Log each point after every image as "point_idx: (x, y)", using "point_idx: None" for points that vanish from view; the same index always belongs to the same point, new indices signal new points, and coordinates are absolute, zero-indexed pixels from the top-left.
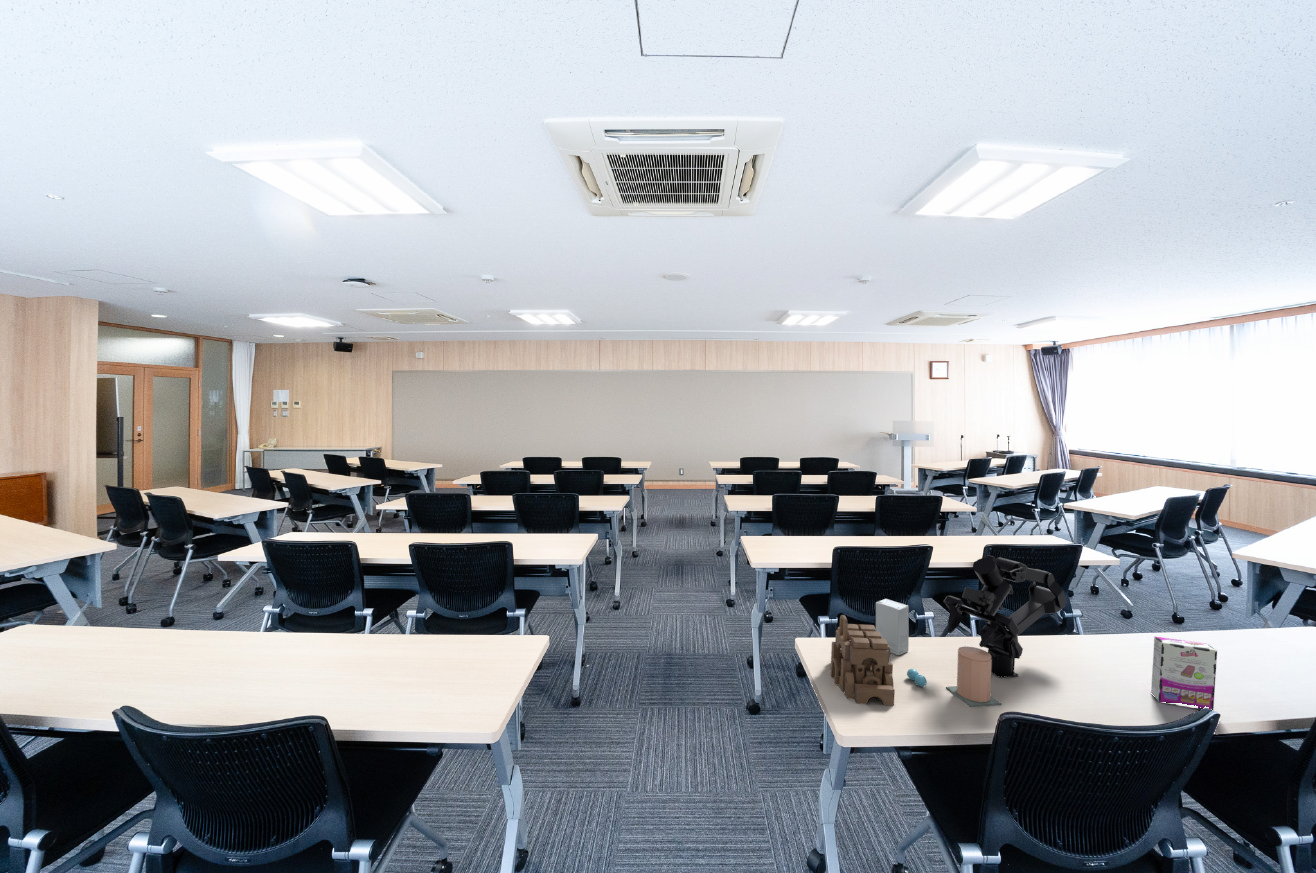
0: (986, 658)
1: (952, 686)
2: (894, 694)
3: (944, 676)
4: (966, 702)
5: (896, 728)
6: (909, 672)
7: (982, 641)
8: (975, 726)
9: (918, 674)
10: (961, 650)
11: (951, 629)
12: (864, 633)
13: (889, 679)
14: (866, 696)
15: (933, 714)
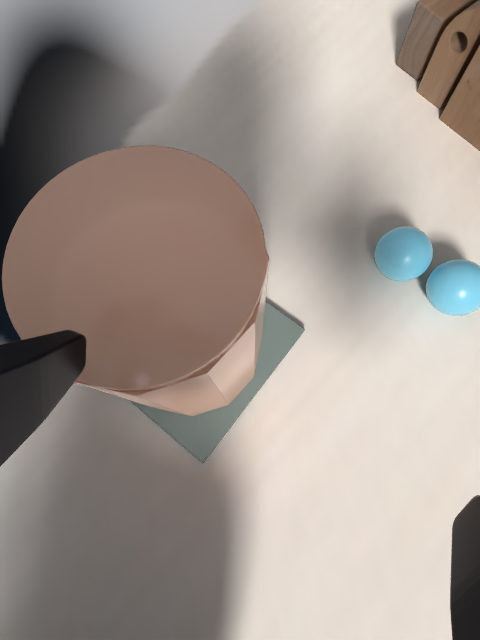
0: (36, 206)
1: (284, 355)
2: (410, 22)
3: (351, 456)
4: None
5: None
6: (472, 262)
7: (32, 342)
8: (146, 132)
9: (433, 286)
10: (234, 225)
11: (474, 553)
12: None
13: (469, 6)
14: None
15: (274, 104)
